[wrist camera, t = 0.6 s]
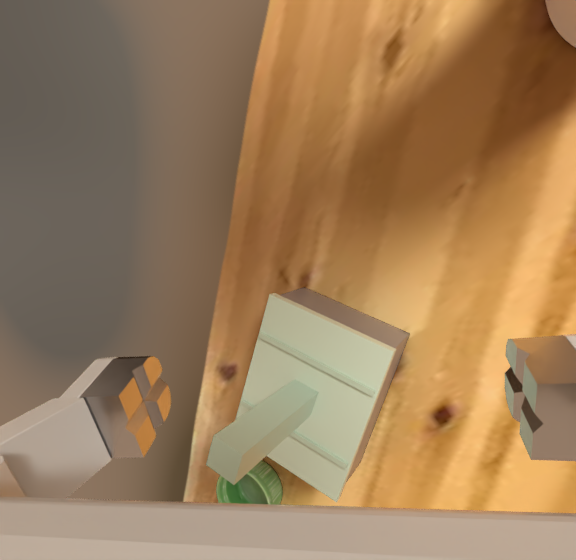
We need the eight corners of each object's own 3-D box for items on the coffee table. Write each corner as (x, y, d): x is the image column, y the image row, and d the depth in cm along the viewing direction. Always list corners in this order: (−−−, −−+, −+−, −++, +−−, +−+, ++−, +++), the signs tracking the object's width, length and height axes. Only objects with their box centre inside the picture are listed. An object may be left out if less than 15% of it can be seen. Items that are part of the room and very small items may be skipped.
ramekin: (294, 476, 59) (278, 494, 55) (276, 525, 62) (260, 546, 58) (243, 441, 63) (224, 455, 59) (228, 489, 65) (209, 506, 61)
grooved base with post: (274, 292, 48) (179, 321, 35) (396, 349, 42) (336, 408, 29) (236, 429, 54) (142, 497, 41) (340, 497, 48) (268, 602, 35)
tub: (304, 287, 54) (275, 296, 48) (410, 333, 48) (392, 350, 42) (268, 407, 59) (238, 428, 53) (360, 462, 54) (338, 493, 48)
